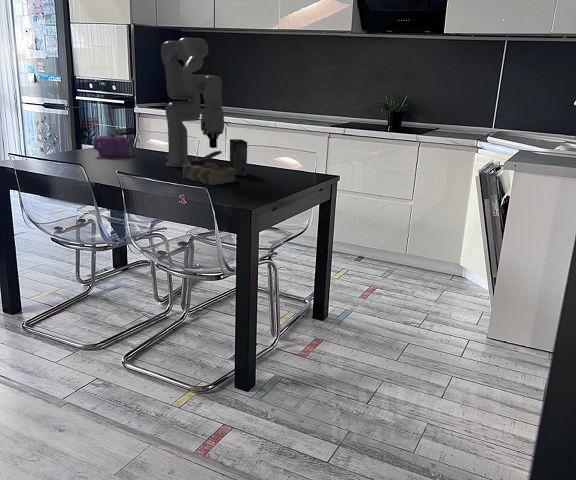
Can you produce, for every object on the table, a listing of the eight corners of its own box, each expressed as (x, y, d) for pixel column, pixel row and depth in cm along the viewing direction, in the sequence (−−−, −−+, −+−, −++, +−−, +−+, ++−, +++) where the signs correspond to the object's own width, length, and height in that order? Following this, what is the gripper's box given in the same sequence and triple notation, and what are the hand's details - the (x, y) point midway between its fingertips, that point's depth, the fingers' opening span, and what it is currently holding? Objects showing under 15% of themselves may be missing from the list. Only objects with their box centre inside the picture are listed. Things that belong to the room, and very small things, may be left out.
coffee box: (229, 172, 273) (229, 139, 268) (241, 171, 275) (242, 138, 270) (234, 175, 265) (234, 141, 260) (247, 175, 267) (247, 141, 262)
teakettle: (92, 157, 299) (90, 134, 295) (106, 152, 315) (104, 130, 311) (122, 159, 297) (121, 135, 293) (135, 154, 313) (133, 132, 309)
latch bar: (194, 164, 256) (193, 162, 256) (200, 163, 259) (200, 161, 259) (214, 153, 245) (214, 151, 245) (221, 152, 248) (221, 150, 248)
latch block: (182, 177, 256) (182, 159, 253) (206, 174, 266) (206, 156, 263) (211, 185, 243) (211, 166, 241) (235, 181, 253) (235, 162, 251)
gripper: (220, 104, 250) (220, 145, 256) (193, 105, 240) (194, 148, 245) (231, 105, 246) (231, 147, 251) (205, 106, 235) (205, 150, 240)
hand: (213, 147), depth 248 cm, fingers closed
